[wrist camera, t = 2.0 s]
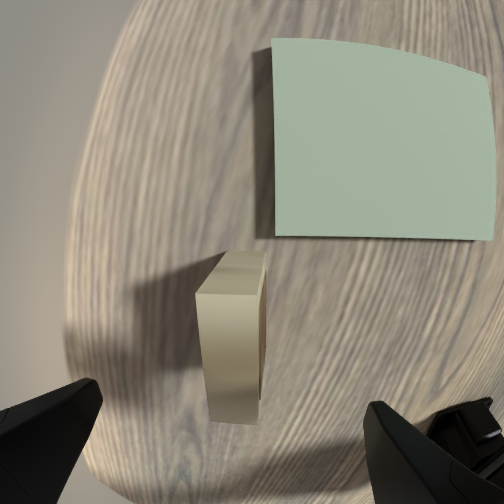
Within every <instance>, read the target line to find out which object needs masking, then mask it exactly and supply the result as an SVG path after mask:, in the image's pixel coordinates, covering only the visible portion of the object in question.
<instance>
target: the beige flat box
mask: <svg viewBox="0 0 504 504" xmlns="http://www.w3.org/2000/svg"><path fill="white" fill-rule="evenodd" d="M195 296H196V307H197V318H198V328H199V337H200V346H201V355H202V363H203V371H204V379H205V386H206V393H207V400H208V407H209V414H210V420H211V421H213V422H223V423H234V424H248V425H258V418H259V410H260V401H261V391H262V382H263V372H264V363H265V353H266V251H227V252H226V253H225V254H224V256H223V257H222V258H221V260H220V261H219V262H218V264H217V265H216V266H215V268H214V269H213V270H212V272H211V273H210V274H209V276H208V277H207V278H206V280H205V281H204V282H203V284H202V285H201V286H200V288H199V289H198V290H197V292H196V293H195Z"/></svg>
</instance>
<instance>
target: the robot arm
mask: <svg viewBox="0 0 504 504" xmlns="http://www.w3.org/2000/svg"><path fill="white" fill-rule="evenodd" d="M492 402H493V400H492V398H491V397H488V398H485V399H482V400H479V401H476V402H473V403H470V404H466V405H463V406H459V407H456V408H452V409H448V410H444V411H441V412H440V413H438V414H437V416H436V417H435V419H434V421H433V423H432V425H431V427H430V429H429V431H428V433H427V435H426V436H425V435H424V434H423V433H422V432H420V431H419V430H418V429H417V428H415V427H414V426H413V425H412V424H410V423H409V422H408V421H407V420H405V419H404V418H403V417H402V416H401V415H399V414H398V413H397V412H396V411H394V410H393V409H392V408H391V407H390V406H388V405H387V404H386V403H385V402H384V401H372V402H370V403H369V404H368V407H367V410H366V414H365V417H364V420H363V429H364V438H365V448H366V459H367V466H368V472H369V476H370V481H371V486H372V490H373V495H374V500H375V504H504V437H503V435H502V434H501V432H502V429H501V427H500V425H499V424H498V422H497V421H496V420H495V418H494V417H493V415H492V414H491V412H490V411H489V408H490V406H491V404H492ZM102 403H103V396H102V394H101V391H100V388H99V386H98V383H97V381H96V380H94V379H91V378H83V379H81V380H78V381H76V382H73V383H71V384H69V385H66V386H64V387H61V388H59V389H56V390H54V391H51V392H49V393H46V394H44V395H41V396H39V397H36V398H34V399H31V400H28V401H26V402H23V403H21V404H18V405H15V406H12V407H10V408H7V409H4V410H2V411H0V504H57V502H58V500H59V497H60V495H61V493H62V491H63V489H64V487H65V484H66V482H67V480H68V478H69V476H70V474H71V472H72V470H73V468H74V466H75V464H76V462H77V460H78V457H79V456H80V454H81V452H82V450H83V448H84V446H85V444H86V442H87V440H88V438H89V436H90V433H91V431H92V429H93V426H94V423H95V421H96V418H97V416H98V413H99V411H100V408H101V406H102Z"/></svg>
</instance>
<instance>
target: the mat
mask: <svg viewBox="0 0 504 504" xmlns="http://www.w3.org/2000/svg"><path fill="white" fill-rule="evenodd" d="M271 43H272V68H273V98H274V138H275V236H348V237H396V238H432V239H462V240H487V241H493V233H494V223H495V208H496V149H495V135H494V125H493V116H492V109H491V102H490V96H489V90H488V85H487V80H486V77H484V76H482V75H479V74H477V73H474V72H472V71H469V70H466V69H464V68H461V67H458V66H455V65H452V64H449V63H446V62H442V61H439V60H436V59H432V58H429V57H425V56H421V55H417V54H413V53H409V52H405V51H400V50H395V49H390V48H385V47H380V46H374V45H367V44H361V43H353V42H345V41H335V40H322V39H304V38H271Z"/></svg>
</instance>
